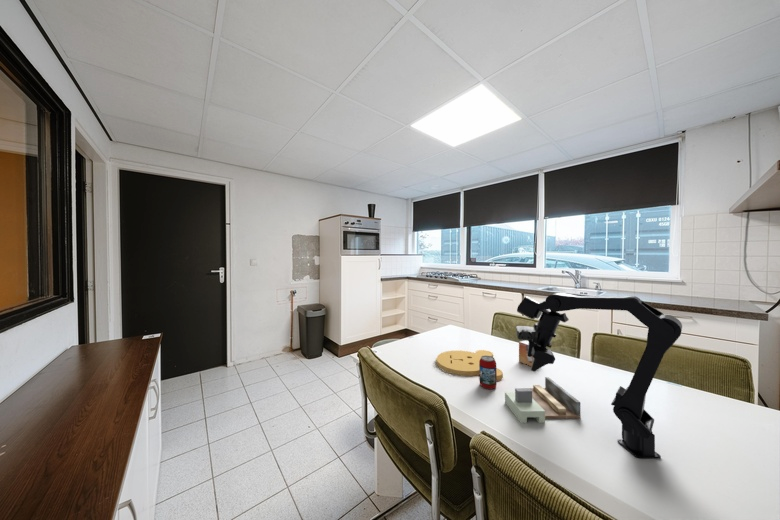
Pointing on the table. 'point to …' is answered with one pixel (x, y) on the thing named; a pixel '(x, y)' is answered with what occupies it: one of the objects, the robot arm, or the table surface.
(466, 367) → the decorative plaque
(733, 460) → the table surface
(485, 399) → the table surface
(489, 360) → the beverage can
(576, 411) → the cleat board
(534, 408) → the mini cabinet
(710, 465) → the table surface
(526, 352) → the small box
